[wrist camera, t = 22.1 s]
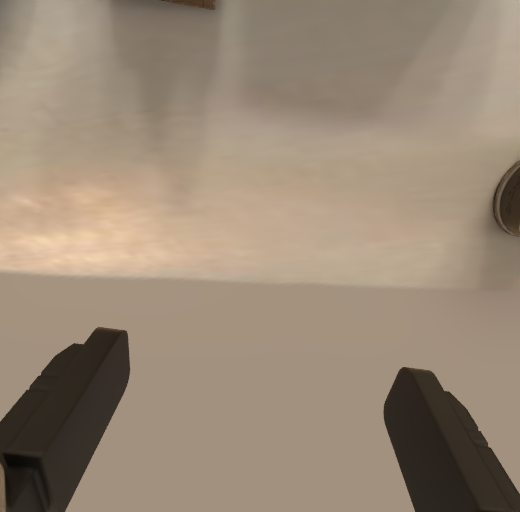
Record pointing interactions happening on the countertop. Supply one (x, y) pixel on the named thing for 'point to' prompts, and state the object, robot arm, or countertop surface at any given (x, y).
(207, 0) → the holder
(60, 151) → the countertop surface
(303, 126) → the countertop surface
